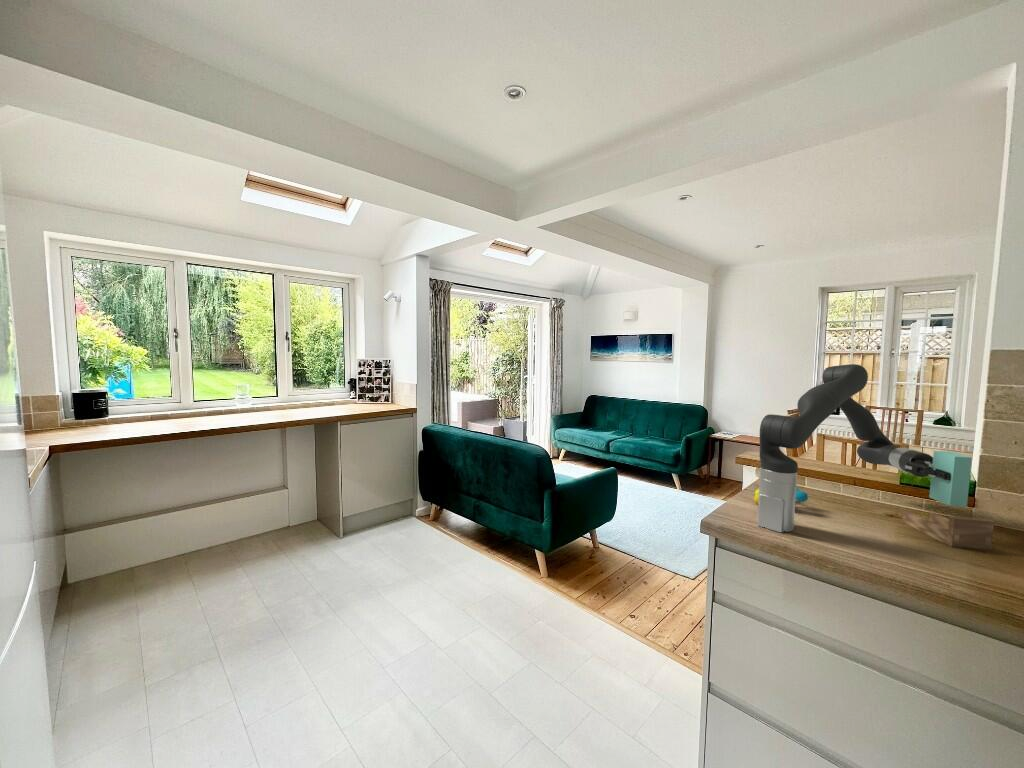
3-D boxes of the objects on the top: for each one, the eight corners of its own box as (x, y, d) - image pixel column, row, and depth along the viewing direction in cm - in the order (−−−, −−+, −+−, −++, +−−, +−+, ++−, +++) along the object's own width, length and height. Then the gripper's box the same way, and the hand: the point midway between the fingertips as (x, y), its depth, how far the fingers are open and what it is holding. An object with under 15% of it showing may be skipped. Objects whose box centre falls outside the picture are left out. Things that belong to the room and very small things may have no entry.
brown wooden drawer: (991, 550, 109) (994, 521, 109) (951, 547, 111) (954, 518, 110) (935, 524, 127) (937, 498, 126) (901, 521, 129) (903, 496, 128)
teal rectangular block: (966, 507, 114) (971, 457, 113) (949, 505, 115) (954, 456, 113) (945, 498, 121) (949, 451, 120) (929, 497, 121) (933, 450, 120)
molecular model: (764, 519, 137) (813, 505, 132) (751, 492, 138) (799, 477, 133) (754, 504, 151) (798, 491, 146) (742, 480, 152) (786, 466, 147)
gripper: (886, 448, 132) (930, 462, 115) (938, 451, 130) (991, 465, 113) (884, 471, 133) (928, 488, 116) (936, 474, 130) (988, 492, 113)
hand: (959, 477), depth 114 cm, fingers closed on teal rectangular block, 4 cm apart
